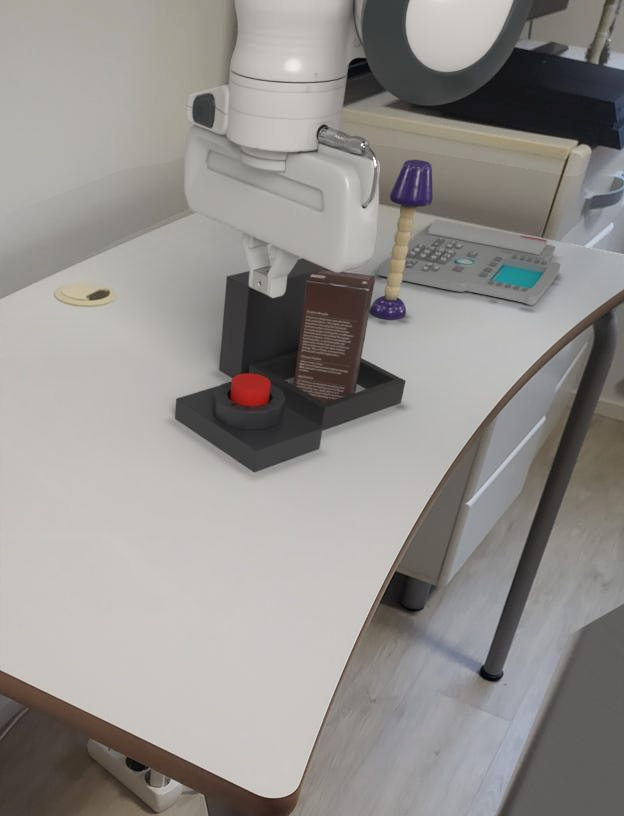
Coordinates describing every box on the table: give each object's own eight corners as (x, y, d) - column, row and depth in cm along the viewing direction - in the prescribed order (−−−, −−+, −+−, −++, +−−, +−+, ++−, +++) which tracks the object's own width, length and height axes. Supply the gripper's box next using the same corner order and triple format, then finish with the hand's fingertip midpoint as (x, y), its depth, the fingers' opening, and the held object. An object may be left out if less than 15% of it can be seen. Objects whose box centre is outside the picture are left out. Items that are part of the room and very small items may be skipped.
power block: (319, 449, 91) (325, 410, 88) (254, 473, 87) (258, 433, 84) (238, 399, 98) (241, 361, 95) (174, 419, 94) (176, 380, 92)
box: (356, 391, 100) (377, 274, 92) (347, 410, 97) (369, 290, 89) (299, 381, 102) (315, 264, 94) (289, 399, 98) (305, 280, 90)
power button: (276, 402, 90) (279, 384, 89) (246, 411, 88) (248, 394, 87) (251, 387, 92) (253, 370, 91) (222, 396, 90) (223, 378, 89)
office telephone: (434, 211, 139) (577, 237, 132) (430, 230, 141) (571, 257, 134) (380, 255, 124) (539, 288, 116) (376, 276, 125) (532, 310, 118)
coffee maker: (401, 403, 98) (422, 306, 92) (320, 431, 93) (337, 331, 87) (296, 347, 108) (308, 256, 101) (218, 370, 103) (226, 276, 96)
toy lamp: (365, 304, 118) (392, 156, 107) (403, 304, 118) (433, 157, 108) (374, 319, 115) (402, 168, 104) (412, 320, 115) (445, 169, 104)
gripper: (413, 137, 70) (379, 324, 79) (233, 85, 82) (222, 251, 91) (350, 150, 67) (322, 341, 76) (173, 93, 80) (168, 264, 89)
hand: (266, 291), depth 84 cm, fingers closed
